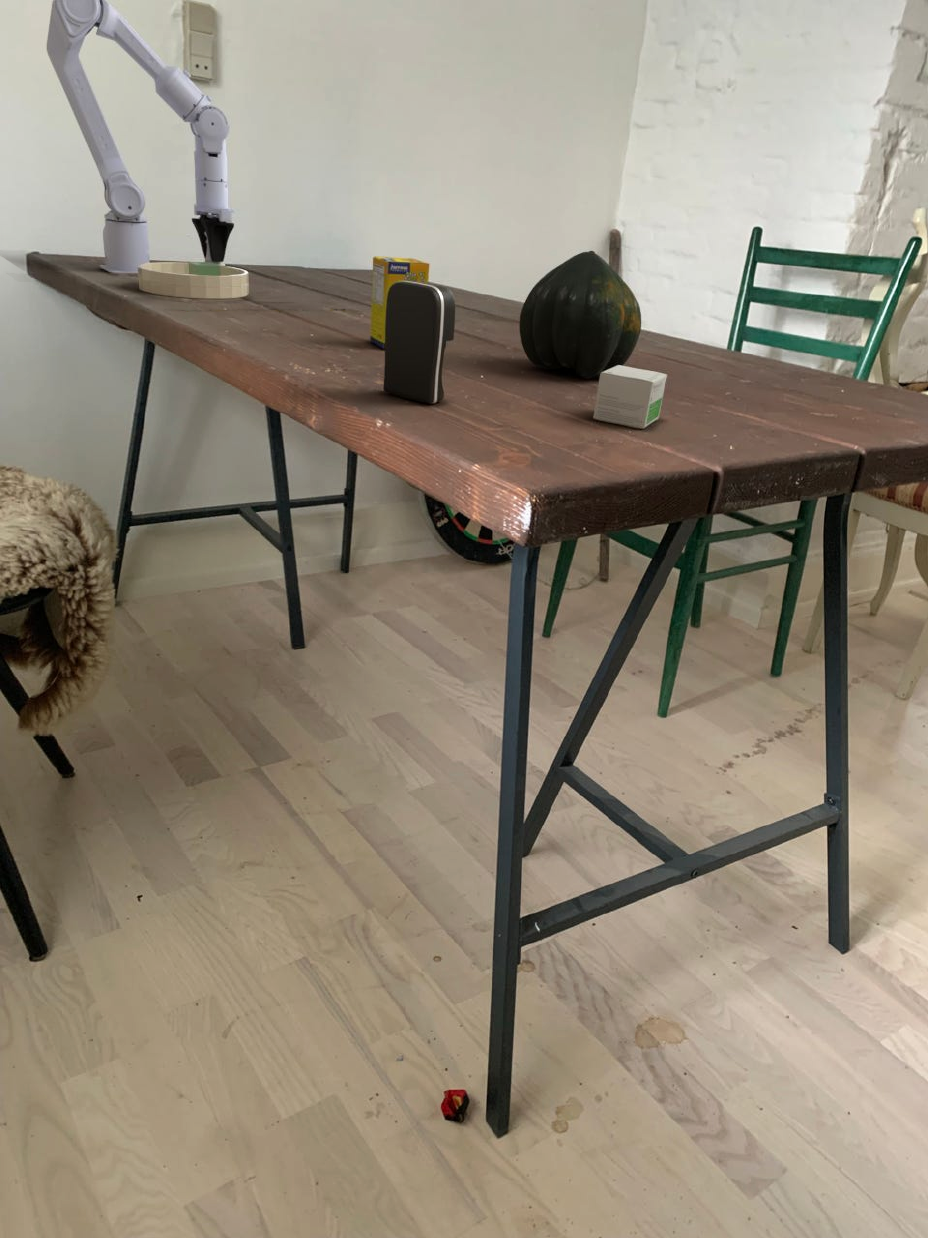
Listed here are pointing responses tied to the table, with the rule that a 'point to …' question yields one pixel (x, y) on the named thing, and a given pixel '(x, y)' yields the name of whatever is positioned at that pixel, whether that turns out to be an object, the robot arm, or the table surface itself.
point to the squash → (580, 318)
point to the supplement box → (382, 280)
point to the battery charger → (417, 339)
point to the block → (204, 268)
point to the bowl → (192, 281)
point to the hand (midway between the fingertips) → (214, 260)
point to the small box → (629, 396)
